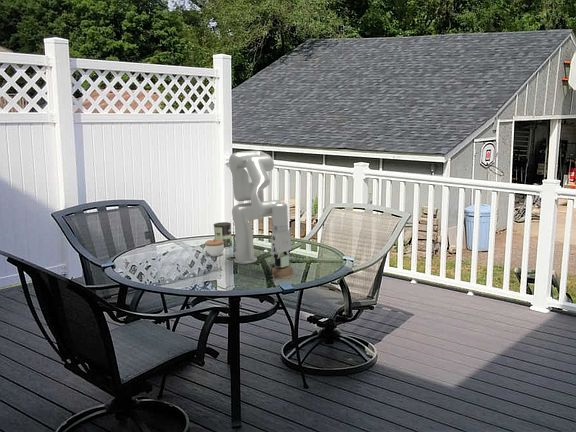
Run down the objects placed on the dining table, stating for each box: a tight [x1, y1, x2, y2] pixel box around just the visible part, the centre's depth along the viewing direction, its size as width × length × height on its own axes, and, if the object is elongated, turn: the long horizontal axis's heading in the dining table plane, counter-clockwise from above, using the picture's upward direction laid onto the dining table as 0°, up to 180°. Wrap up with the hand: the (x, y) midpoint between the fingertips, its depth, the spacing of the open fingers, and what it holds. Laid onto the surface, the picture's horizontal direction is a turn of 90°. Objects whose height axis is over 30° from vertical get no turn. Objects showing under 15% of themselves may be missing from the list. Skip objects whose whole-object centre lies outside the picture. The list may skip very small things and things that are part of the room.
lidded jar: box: [204, 238, 224, 257], centre depth 343 cm, size 11×11×9 cm
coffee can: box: [213, 221, 233, 249], centre depth 361 cm, size 10×10×14 cm
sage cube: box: [273, 254, 290, 267], centre depth 293 cm, size 5×5×5 cm
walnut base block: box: [271, 265, 293, 279], centre depth 294 cm, size 7×7×4 cm
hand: (281, 264), depth 294 cm, fingers closed on sage cube, 4 cm apart
